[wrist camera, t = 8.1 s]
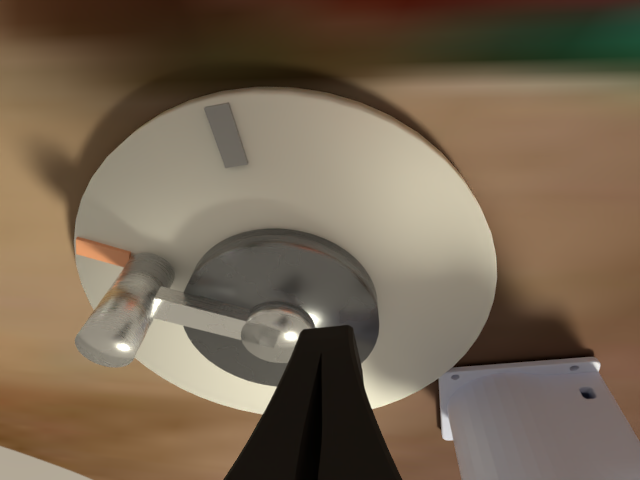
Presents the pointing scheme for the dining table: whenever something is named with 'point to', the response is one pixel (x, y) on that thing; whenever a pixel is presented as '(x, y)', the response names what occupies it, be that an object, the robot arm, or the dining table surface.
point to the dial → (238, 303)
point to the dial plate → (296, 224)
